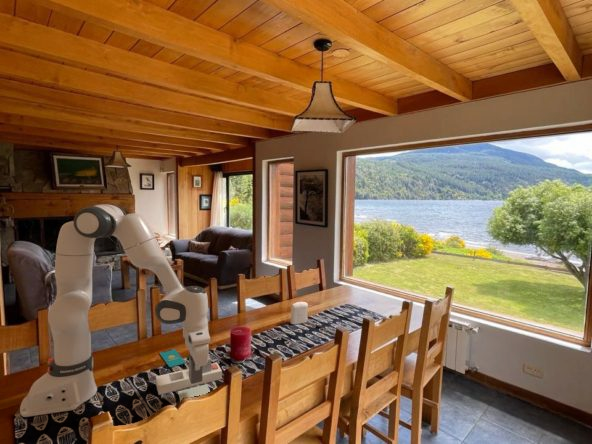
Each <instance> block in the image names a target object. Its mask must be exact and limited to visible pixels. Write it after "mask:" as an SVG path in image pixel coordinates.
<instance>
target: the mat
mask: <svg viewBox="0 0 592 444" xmlns="http://www.w3.org/2000/svg"><path fill="white" fill-rule="evenodd" d="M210 391H211V390H210V387H209V385H208V384H207V383H204V384H200V385H196V386H192V387H188V388H184V389H181V390H177V395H178V397H179V401H180V402H181V400H182V399H183V398H185V397H194V396H199V395H201V394H206V393H208V392H210Z"/></svg>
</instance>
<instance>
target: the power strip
mask: <svg viewBox="0 0 592 444" xmlns="http://www.w3.org/2000/svg"><path fill="white" fill-rule="evenodd" d="M222 379H223V370H222V368H221V367H220V365H219V364H218V362H214V363H212V358H211V356H210V355H209V354H208V362H207V364H206V365H204V366H202V381H201V382H197V383H193V384H191V382H190V380H189V368H187V369H182V370H179V371H174V372H169V373H166V374H165V373H164V374H161V375H156V376H155V387H156V390H157V393H158V395H159V396H160V395H164V394H167V393H168V394H169V393H172V392H177V391H181V390H185V389H189V388H193V387H197V386H201V385H205V384H207V383H211V382H214V381H218V380H222Z"/></svg>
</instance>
